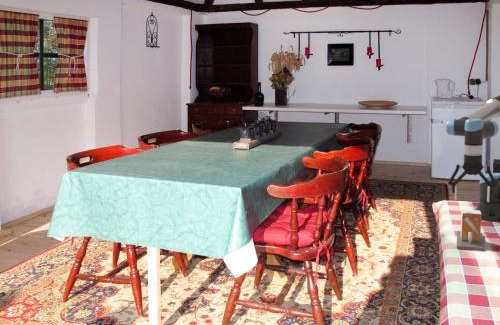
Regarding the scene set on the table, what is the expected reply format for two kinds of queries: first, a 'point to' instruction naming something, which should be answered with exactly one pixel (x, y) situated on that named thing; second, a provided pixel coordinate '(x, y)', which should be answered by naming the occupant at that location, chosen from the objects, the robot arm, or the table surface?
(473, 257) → the table surface
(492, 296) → the table surface
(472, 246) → the pin tray
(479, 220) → the small box
